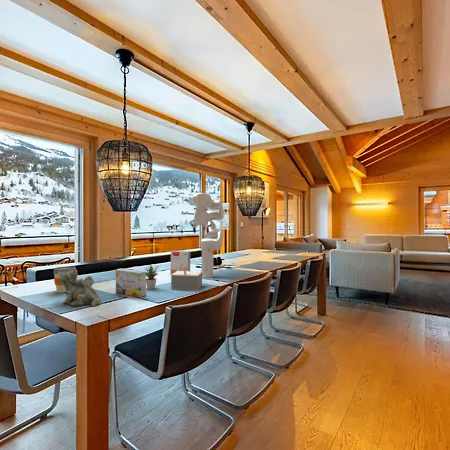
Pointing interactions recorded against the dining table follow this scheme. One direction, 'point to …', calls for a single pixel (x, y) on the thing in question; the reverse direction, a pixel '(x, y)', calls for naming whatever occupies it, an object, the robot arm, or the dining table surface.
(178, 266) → the hard drive box
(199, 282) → the carton
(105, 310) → the dining table surface
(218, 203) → the robot arm
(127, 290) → the snack box
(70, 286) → the sculpture
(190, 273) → the flap
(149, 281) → the house plant
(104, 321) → the dining table surface
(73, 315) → the dining table surface
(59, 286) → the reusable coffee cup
